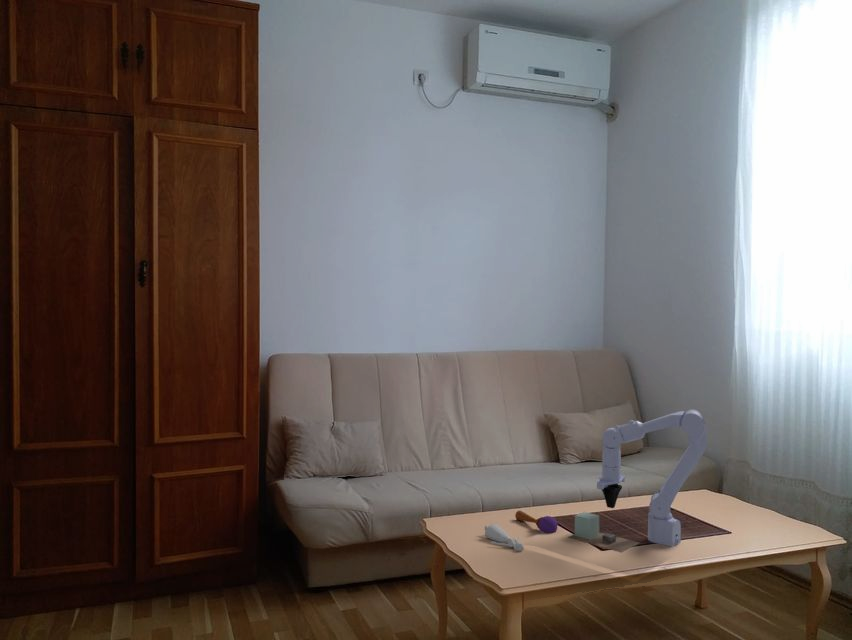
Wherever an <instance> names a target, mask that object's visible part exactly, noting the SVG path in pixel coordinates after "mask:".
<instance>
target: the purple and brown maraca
mask: <svg viewBox="0 0 852 640" xmlns="http://www.w3.org/2000/svg"><path fill="white" fill-rule="evenodd" d="M514 514H515V515H514V516H515V519H516V520H517V521H522V522H527V523H528V522H529V523H534V524H535V525H536V527H537V528H538V529H539V531H540V532H541V533H546V534H553V533H556V532H557V530H558V523H557V521H556V519H555V518H554V517H553V516H550V515H545V516H540V517H539V518H537V519H536V518H534V517H533V516H531V515H529V514H527V513H526V512H524V511H523V510H518V511H516V512H515V513H514Z"/></svg>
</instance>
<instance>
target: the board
mask: <svg viewBox="0 0 852 640" xmlns="http://www.w3.org/2000/svg"><path fill="white" fill-rule="evenodd" d="M567 538H568V539H572V540H575V541H578V542H582V543H586V544H589V545H593V546H596V547H600V548H604V549H607V550H610V551H614V552H617V553H623V552H625V551H627V550H630V549H631V548H633V547H635V546H637V545H639V544H641V542H638V541H635V540H630V539H627V538H623V537H620V536H619V537H618V536H617V535H615V534H612V533H608V532H606V533H604V532H601V531H599V536H597V537H595V538H593V539H590V540H589V539H586V538H582V537H578V536H575V533H573V534H571V535H569V536H567Z"/></svg>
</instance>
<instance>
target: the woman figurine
mask: <svg viewBox="0 0 852 640" xmlns="http://www.w3.org/2000/svg"><path fill="white" fill-rule="evenodd" d="M484 536H485V538H487V539H488V538H489V540H491V541H490V542H489V543H490V544H492V545H500V546H505V547H509V548H513V550H514V551H516V552H523V550H524V548H525V547H524V544H523V543H522V542H520V538H521V536H520V535H517V537H518V538H517V539H516V538H515V537H512V538H511V537H510V536H509V534H508V533H507V532H506V531H505V530H504V529H503V528H502V527H501V526H500V525H498V524H497V523H494V524H490V525H488V526H487V525H485V526H484ZM493 540H494V541H493Z"/></svg>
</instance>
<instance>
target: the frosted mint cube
mask: <svg viewBox="0 0 852 640" xmlns="http://www.w3.org/2000/svg"><path fill="white" fill-rule="evenodd" d="M599 532H600V515H599V514H594V513H590V512H586V511H583V512H580V513H577V514H575V515H574V534H575V536H578V537H582V538H586V539H589V540H590V539H593V538H595V537H597V536H599Z"/></svg>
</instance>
